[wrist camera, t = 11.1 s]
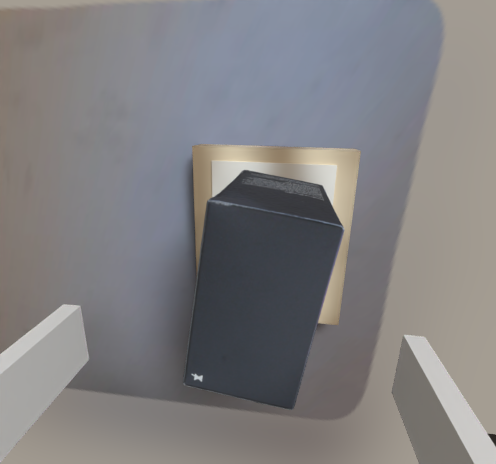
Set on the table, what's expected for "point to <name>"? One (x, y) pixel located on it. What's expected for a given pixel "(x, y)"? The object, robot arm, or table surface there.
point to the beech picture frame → (289, 166)
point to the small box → (260, 287)
